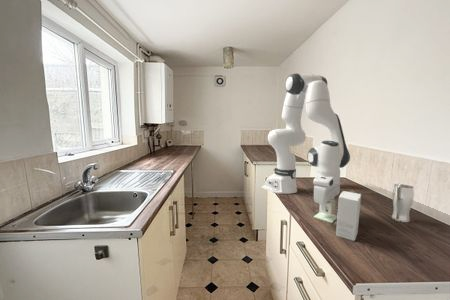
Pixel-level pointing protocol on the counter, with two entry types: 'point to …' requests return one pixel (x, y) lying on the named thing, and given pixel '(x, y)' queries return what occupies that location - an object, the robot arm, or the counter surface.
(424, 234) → the counter surface
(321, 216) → the pad
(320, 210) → the lettered cube
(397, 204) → the beer glass
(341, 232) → the skincare box
